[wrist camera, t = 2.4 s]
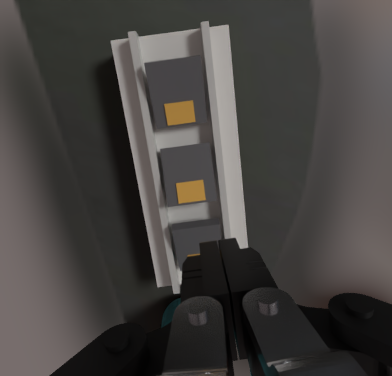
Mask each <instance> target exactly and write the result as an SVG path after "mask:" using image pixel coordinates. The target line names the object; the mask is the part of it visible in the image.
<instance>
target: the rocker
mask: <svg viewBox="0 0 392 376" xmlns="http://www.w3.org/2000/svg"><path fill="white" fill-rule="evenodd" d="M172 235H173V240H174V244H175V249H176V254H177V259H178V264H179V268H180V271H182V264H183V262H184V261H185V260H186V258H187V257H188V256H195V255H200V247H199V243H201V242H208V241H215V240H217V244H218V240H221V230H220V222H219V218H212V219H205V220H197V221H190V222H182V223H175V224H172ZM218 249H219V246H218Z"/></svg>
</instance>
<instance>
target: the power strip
mask: <svg viewBox="0 0 392 376" xmlns="http://www.w3.org/2000/svg"><path fill="white" fill-rule="evenodd" d="M128 36H129V38H127V39H120V40H112V41H111V46H112V51H113V56H114V61H115V67H116V72H117V77H118V82H119V87H120V93H121V98H122V103H123V108H124V114H125V119H126V124H127V129H128V134H129V140H130V145H131V150H132V155H133V161H134V166H135V171H136V176H137V181H138V187H139V192H140V197H141V202H142V208H143V213H144V218H145V223H146V228H147V234H148V239H149V244H150V249H151V255H152V260H153V265H154V270H155V275H156V281H157V286H158V287H163V286H171V285H172V287H173V293H174V294H177V293H180V284H181V283H182V271H180V268H179V264H178V259H177V254H176V249H175V244H174V240H173V235H172V224H175V223H182V222H190V221H197V220H205V219H212V218H219V222H220V230H221V239H228V238H236V240H237V242H238V245H239V247H240V249H243V248H248V243H247V231H246V220H245V208H244V197H243V185H242V174H241V163H240V151H239V140H238V128H237V117H236V105H235V94H234V82H233V71H232V60H231V48H230V37H229V25H223V26H216V27H209V21H206V22H201V26H200V29H193V30H186V31H179V32H171V33H164V34H157V35H149V36H142V37H139V36H138V35H137V33H136V31H132V32H128ZM196 55H201V64H202V74H203V84H204V95H205V105H206V115H207V122H206V123H199V124H191V125H184V126H176V127H169V128H161V129H157V127H156V122H155V117H154V112H153V107H152V102H151V97H150V92H149V87H148V82H147V76H146V71H145V66H144V63H145V62H152V61H159V60H166V59H174V58H181V57H188V56H196ZM208 142H210V150H211V157H212V165H213V172H214V180H215V187H216V195H217V201H212V202H204V203H197V204H189V205H182V206H174V207H168V205H167V198H166V190H165V182H164V175H163V167H162V160H161V152H160V149H163V148H170V147H178V146H185V145H193V144H200V143H208Z"/></svg>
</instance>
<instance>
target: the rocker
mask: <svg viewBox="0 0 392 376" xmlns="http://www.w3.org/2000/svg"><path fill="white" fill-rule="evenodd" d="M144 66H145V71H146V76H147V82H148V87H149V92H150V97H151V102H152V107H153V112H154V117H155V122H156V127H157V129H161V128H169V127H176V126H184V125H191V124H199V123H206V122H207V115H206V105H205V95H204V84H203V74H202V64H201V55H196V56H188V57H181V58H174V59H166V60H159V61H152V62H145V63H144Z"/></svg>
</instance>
